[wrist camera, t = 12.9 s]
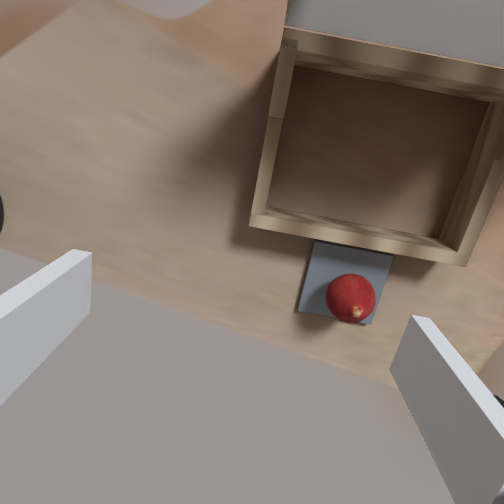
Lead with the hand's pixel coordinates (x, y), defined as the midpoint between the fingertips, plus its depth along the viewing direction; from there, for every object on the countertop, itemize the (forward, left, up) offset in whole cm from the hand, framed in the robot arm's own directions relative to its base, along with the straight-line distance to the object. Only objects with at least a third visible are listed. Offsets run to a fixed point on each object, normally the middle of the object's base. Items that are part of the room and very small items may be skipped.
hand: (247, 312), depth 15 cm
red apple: (+12, -10, -30) cm, 34 cm away
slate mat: (+12, -10, -31) cm, 35 cm away
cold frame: (+11, +6, -31) cm, 33 cm away
